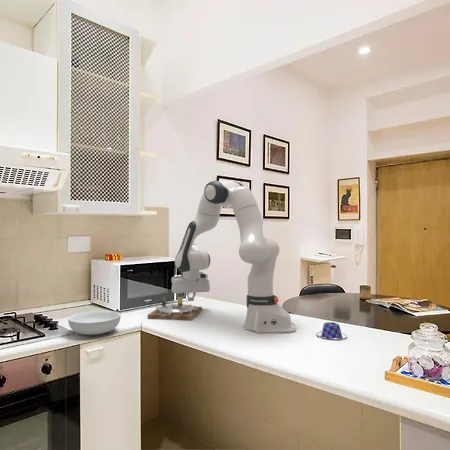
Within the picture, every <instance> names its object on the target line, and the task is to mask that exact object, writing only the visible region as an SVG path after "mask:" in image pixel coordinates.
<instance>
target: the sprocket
mask: <svg viewBox="0 0 450 450" xmlns="http://www.w3.org/2000/svg"><path fill="white" fill-rule="evenodd" d="M196 307H197V305H192V304H184V303H183V296H178V297H177V303H175V304H174V303H170V304H166V305H162V304H161V306H156V307H155V312H160V314H163V313H164V314H169V315H171V314H183V313H192V311H196Z"/></svg>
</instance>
